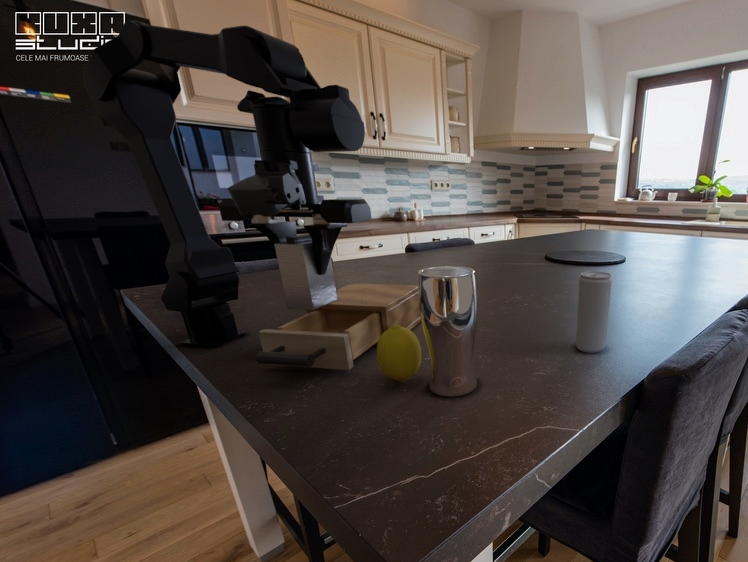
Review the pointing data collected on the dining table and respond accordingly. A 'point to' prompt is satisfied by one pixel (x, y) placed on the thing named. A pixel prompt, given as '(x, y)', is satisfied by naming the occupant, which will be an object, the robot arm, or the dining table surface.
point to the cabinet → (380, 303)
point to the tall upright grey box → (303, 275)
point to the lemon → (399, 353)
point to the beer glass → (449, 326)
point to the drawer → (321, 339)
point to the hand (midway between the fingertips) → (308, 274)
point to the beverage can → (593, 311)
